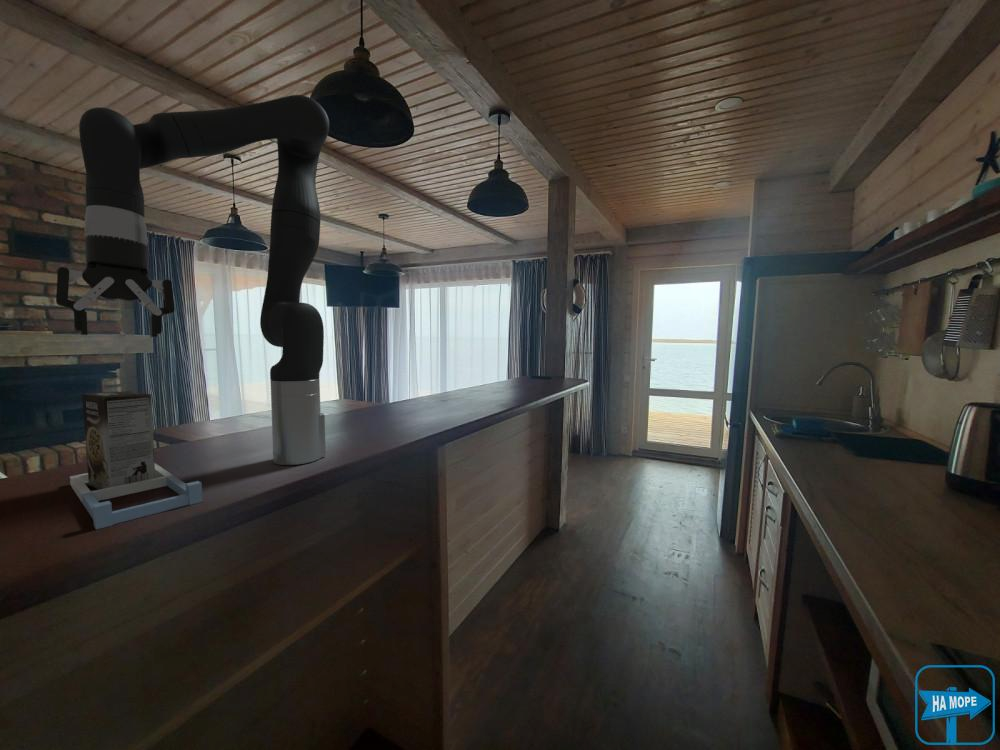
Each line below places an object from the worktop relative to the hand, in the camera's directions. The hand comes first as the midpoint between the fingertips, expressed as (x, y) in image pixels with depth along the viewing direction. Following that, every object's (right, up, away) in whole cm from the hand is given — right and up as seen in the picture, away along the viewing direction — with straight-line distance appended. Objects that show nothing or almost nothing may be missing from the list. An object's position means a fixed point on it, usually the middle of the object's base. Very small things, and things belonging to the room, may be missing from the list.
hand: (120, 335), depth 66 cm
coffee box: (-1, -26, +1) cm, 26 cm away
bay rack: (+4, -26, -2) cm, 27 cm away
